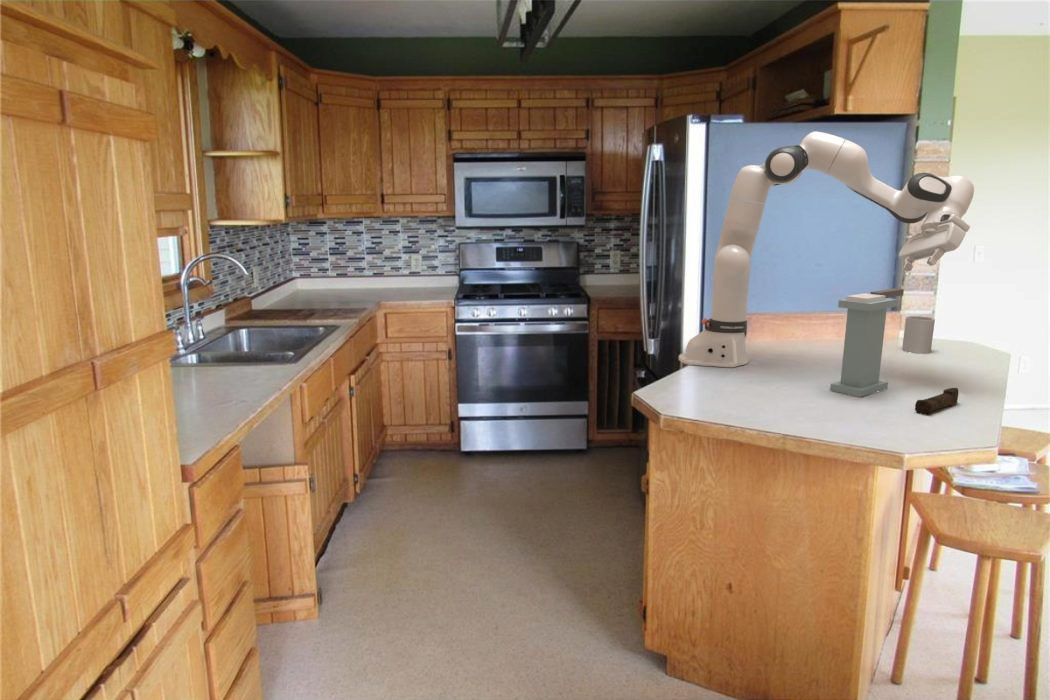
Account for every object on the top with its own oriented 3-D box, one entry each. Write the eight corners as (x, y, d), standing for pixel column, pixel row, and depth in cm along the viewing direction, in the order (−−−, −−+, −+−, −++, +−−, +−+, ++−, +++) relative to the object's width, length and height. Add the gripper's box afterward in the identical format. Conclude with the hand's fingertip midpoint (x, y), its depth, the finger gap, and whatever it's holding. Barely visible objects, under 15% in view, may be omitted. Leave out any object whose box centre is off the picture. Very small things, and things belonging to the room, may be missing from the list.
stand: (860, 397, 200) (870, 303, 195) (830, 390, 207) (838, 300, 202) (887, 389, 209) (897, 299, 204) (857, 382, 216) (866, 295, 211)
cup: (904, 352, 259) (908, 319, 256) (899, 347, 267) (903, 315, 265) (933, 354, 256) (937, 320, 253) (927, 349, 264) (931, 316, 262)
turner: (866, 302, 197) (867, 296, 196) (845, 300, 201) (846, 293, 201) (908, 296, 211) (909, 289, 211) (888, 293, 216) (888, 287, 215)
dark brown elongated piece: (929, 417, 184) (931, 399, 183) (913, 413, 187) (915, 395, 186) (967, 405, 194) (969, 389, 193) (951, 402, 197) (954, 385, 196)
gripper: (905, 229, 219) (885, 267, 217) (957, 212, 199) (936, 254, 197) (921, 241, 220) (901, 279, 218) (975, 225, 200) (953, 267, 198)
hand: (918, 267), depth 207 cm, fingers open, 8 cm apart
